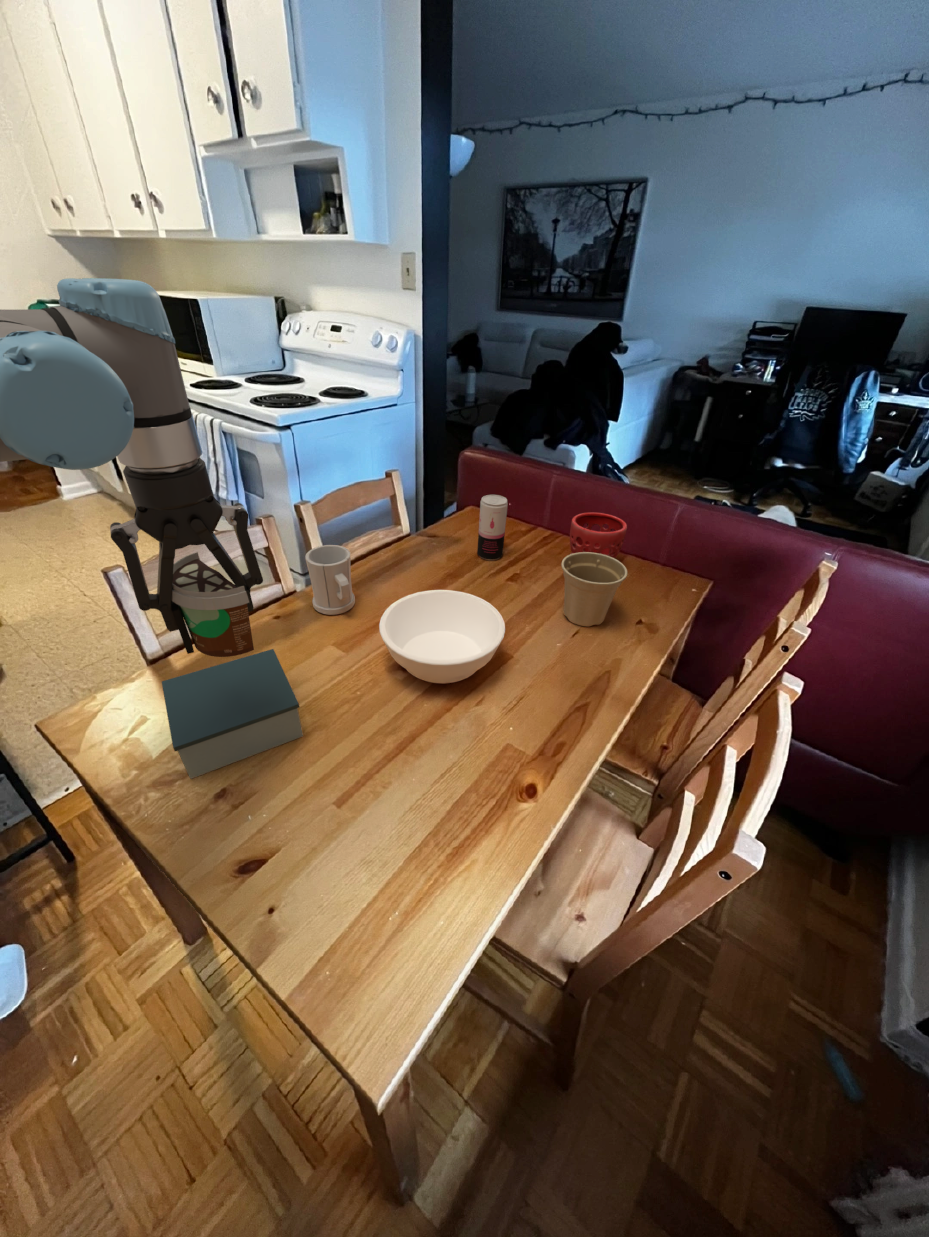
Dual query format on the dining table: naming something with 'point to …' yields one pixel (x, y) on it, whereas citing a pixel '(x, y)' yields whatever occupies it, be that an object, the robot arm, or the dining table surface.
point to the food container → (211, 608)
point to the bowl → (442, 634)
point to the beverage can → (492, 526)
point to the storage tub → (230, 712)
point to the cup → (330, 579)
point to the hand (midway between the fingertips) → (218, 639)
